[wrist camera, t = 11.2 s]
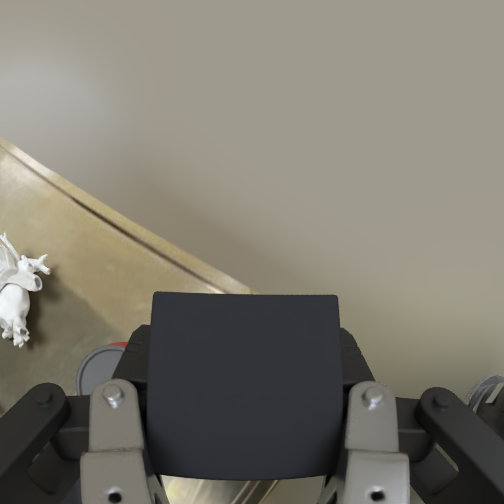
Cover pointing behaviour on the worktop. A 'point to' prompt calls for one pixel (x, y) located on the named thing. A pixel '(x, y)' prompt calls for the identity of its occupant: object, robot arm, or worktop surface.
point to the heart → (17, 290)
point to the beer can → (98, 367)
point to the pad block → (244, 386)
